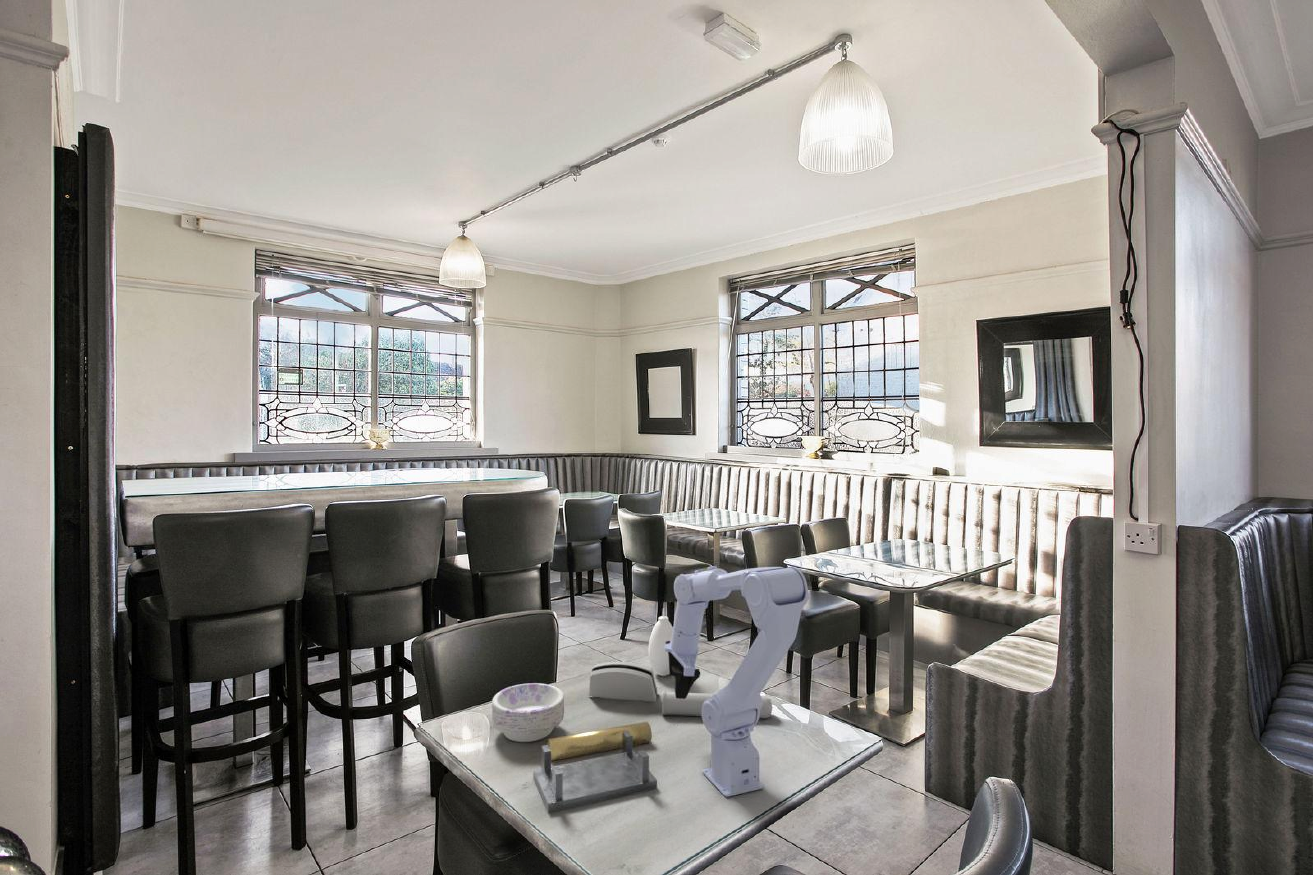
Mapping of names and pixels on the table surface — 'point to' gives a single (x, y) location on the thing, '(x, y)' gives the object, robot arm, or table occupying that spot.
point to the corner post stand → (593, 777)
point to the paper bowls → (527, 711)
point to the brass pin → (597, 740)
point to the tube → (699, 704)
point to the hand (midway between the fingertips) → (677, 686)
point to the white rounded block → (623, 681)
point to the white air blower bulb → (660, 645)
